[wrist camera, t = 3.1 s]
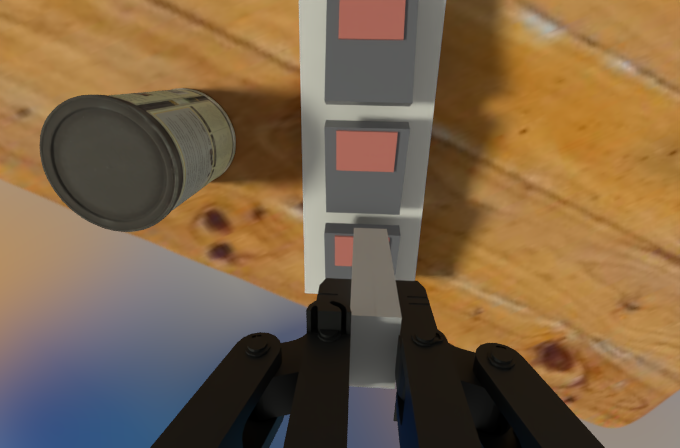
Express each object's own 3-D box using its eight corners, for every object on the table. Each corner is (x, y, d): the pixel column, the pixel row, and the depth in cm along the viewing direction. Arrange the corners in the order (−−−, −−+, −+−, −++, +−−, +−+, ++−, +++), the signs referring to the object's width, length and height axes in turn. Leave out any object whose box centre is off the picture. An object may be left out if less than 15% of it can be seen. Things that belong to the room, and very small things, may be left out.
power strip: (305, -77, 32) (293, -111, 26) (445, -77, 31) (465, -112, 26) (310, 270, 45) (303, 299, 39) (409, 275, 45) (416, 305, 39)
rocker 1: (328, -5, 29) (326, -16, 28) (415, -4, 29) (419, -15, 27) (326, 104, 31) (324, 100, 29) (409, 106, 30) (412, 102, 29)
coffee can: (180, 197, 43) (100, 251, 30) (125, 115, 39) (8, 135, 26) (254, 160, 40) (204, 200, 27) (203, 69, 37) (117, 67, 24)
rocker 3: (325, 222, 35) (323, 234, 33) (399, 225, 34) (400, 237, 33) (327, 285, 40) (325, 297, 38) (391, 288, 39) (392, 300, 38)
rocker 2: (325, 119, 31) (324, 127, 30) (408, 122, 31) (410, 130, 29) (327, 203, 36) (325, 213, 35) (398, 205, 36) (399, 216, 34)
